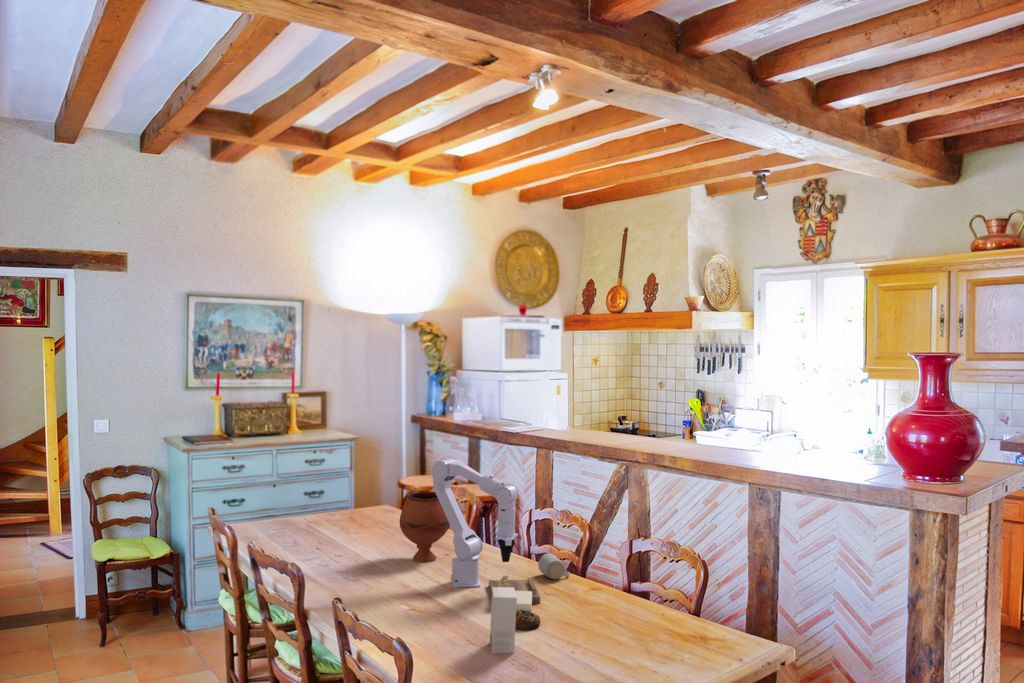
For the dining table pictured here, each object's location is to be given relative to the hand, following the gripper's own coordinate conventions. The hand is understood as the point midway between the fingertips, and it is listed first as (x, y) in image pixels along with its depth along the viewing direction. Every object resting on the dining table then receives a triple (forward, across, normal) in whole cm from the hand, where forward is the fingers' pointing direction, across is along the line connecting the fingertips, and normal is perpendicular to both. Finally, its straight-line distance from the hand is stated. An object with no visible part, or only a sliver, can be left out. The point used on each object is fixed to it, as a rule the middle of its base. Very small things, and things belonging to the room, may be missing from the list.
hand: (505, 561), depth 257 cm
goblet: (+10, +38, +27) cm, 48 cm away
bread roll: (+10, -30, -2) cm, 32 cm away
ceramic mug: (+10, +15, -20) cm, 27 cm away
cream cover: (+9, -16, -3) cm, 19 cm away
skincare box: (+10, -48, +6) cm, 49 cm away
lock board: (+10, -4, -2) cm, 11 cm away
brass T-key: (+8, -12, +2) cm, 14 cm away
